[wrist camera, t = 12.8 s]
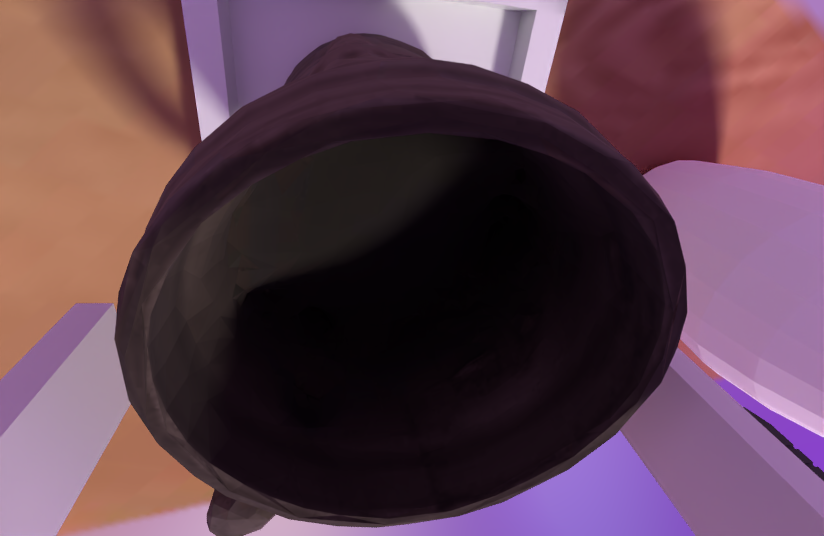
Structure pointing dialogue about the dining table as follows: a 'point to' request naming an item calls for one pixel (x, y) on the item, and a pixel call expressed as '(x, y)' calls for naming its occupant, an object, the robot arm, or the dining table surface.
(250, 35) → the tray
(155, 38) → the dining table surface
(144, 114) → the dining table surface
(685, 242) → the bottle
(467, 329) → the beer stein
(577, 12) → the dining table surface
